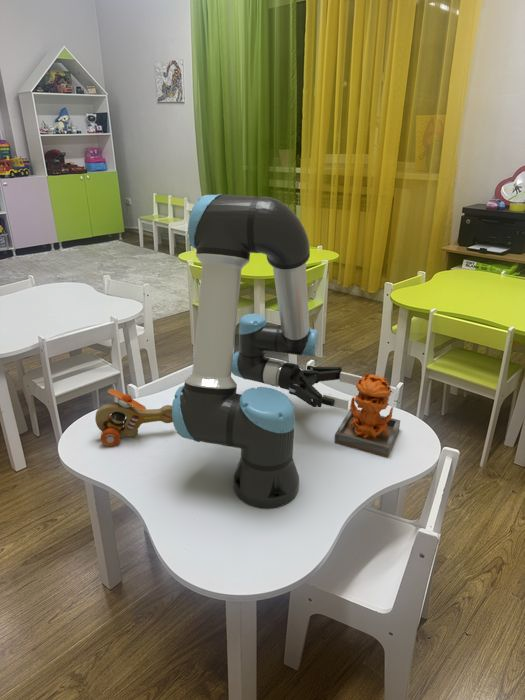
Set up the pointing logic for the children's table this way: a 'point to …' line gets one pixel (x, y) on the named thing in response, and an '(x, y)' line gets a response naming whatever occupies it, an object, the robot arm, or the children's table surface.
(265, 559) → the children's table surface
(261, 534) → the children's table surface
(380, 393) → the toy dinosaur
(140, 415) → the toy helicopter
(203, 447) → the children's table surface
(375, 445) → the tray
